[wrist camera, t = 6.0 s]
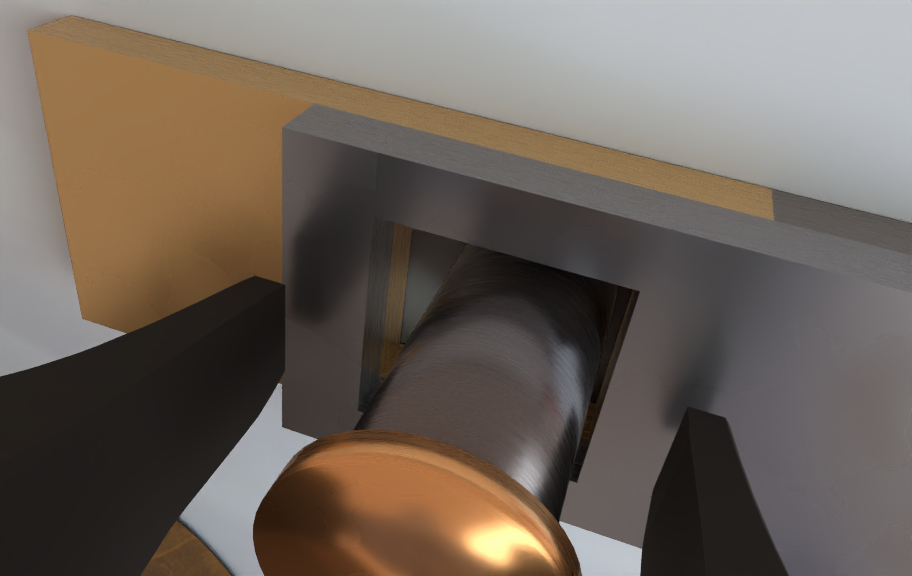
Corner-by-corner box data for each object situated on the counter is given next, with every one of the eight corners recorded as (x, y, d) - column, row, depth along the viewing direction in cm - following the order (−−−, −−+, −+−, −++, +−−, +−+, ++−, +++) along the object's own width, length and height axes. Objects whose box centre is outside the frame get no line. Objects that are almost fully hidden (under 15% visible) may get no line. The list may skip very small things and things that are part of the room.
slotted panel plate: (890, 539, 16) (910, 639, 14) (114, 292, 20) (46, 347, 18) (1088, 268, 12) (1152, 356, 10) (71, 15, 16) (-23, 46, 14)
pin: (616, 384, 16) (541, 736, 10) (431, 333, 17) (260, 630, 11) (668, 213, 14) (609, 538, 8) (450, 162, 15) (244, 421, 9)
